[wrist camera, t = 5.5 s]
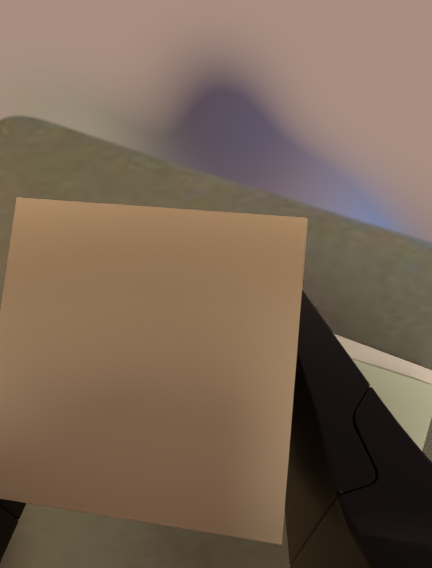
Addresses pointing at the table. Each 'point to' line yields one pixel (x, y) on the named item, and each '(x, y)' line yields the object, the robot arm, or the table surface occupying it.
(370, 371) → the tower top
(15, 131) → the table surface
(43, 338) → the pillar
